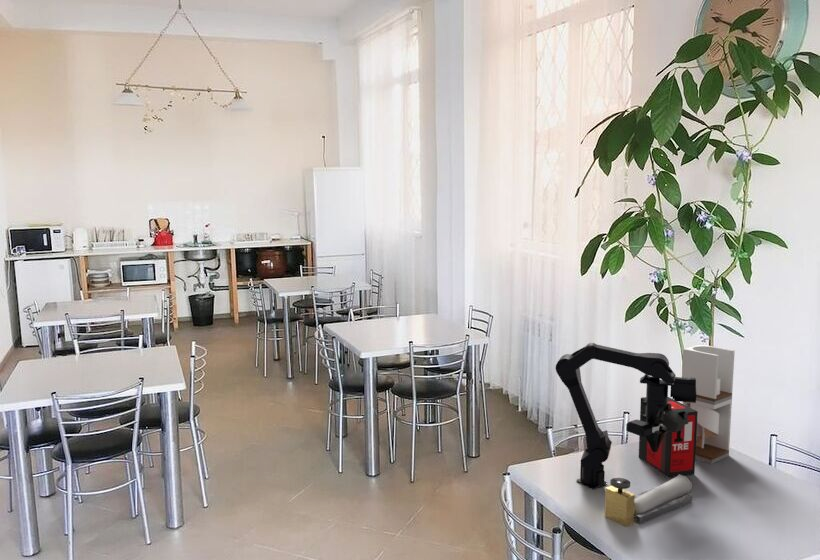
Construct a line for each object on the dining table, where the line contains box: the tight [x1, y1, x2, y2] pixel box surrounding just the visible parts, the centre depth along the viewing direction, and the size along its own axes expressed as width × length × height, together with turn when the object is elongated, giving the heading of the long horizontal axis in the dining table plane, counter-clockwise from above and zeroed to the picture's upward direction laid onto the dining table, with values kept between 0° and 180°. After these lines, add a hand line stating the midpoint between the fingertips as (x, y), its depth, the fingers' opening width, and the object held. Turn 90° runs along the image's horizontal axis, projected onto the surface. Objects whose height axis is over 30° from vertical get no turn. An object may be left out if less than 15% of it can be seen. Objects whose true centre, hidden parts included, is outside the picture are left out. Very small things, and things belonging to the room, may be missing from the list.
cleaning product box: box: [638, 396, 698, 479], centre depth 218 cm, size 16×9×20 cm, turn 13°
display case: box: [681, 344, 735, 465], centre depth 226 cm, size 11×11×35 cm
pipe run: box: [604, 477, 693, 527], centre depth 189 cm, size 9×27×11 cm, turn 123°
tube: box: [634, 474, 692, 518], centre depth 193 cm, size 5×5×25 cm
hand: (654, 451), depth 199 cm, fingers closed
